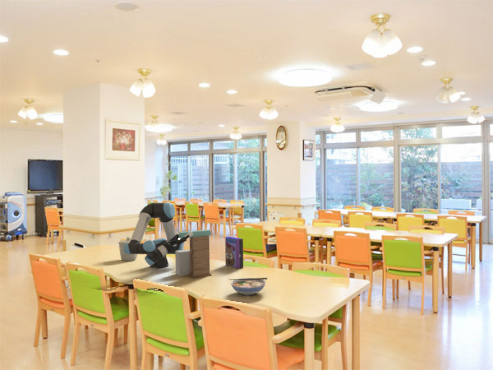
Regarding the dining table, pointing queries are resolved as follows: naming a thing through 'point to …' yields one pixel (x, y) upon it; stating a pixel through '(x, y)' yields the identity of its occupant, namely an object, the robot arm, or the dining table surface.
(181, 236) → the mint green bar
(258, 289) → the ramen bowl
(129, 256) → the canister
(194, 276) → the pedestal
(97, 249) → the dining table surface
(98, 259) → the dining table surface
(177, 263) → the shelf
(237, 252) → the cereal box
